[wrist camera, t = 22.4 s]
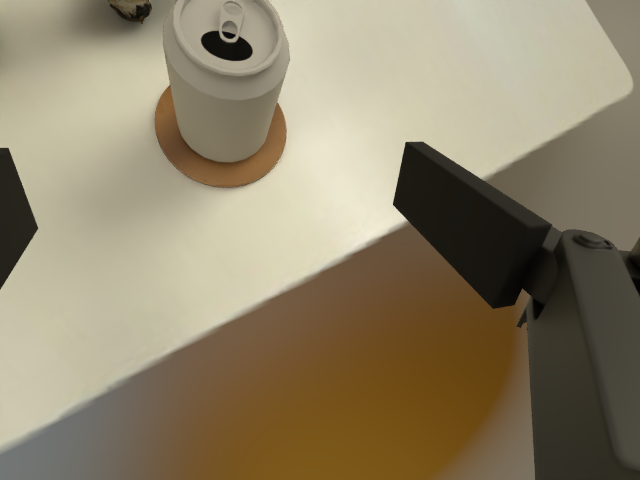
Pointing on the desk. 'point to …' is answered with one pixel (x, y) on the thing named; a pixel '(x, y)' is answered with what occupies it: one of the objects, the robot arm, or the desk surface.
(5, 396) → the desk surface
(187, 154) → the coaster
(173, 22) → the can
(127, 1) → the mushroom
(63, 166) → the desk surface
